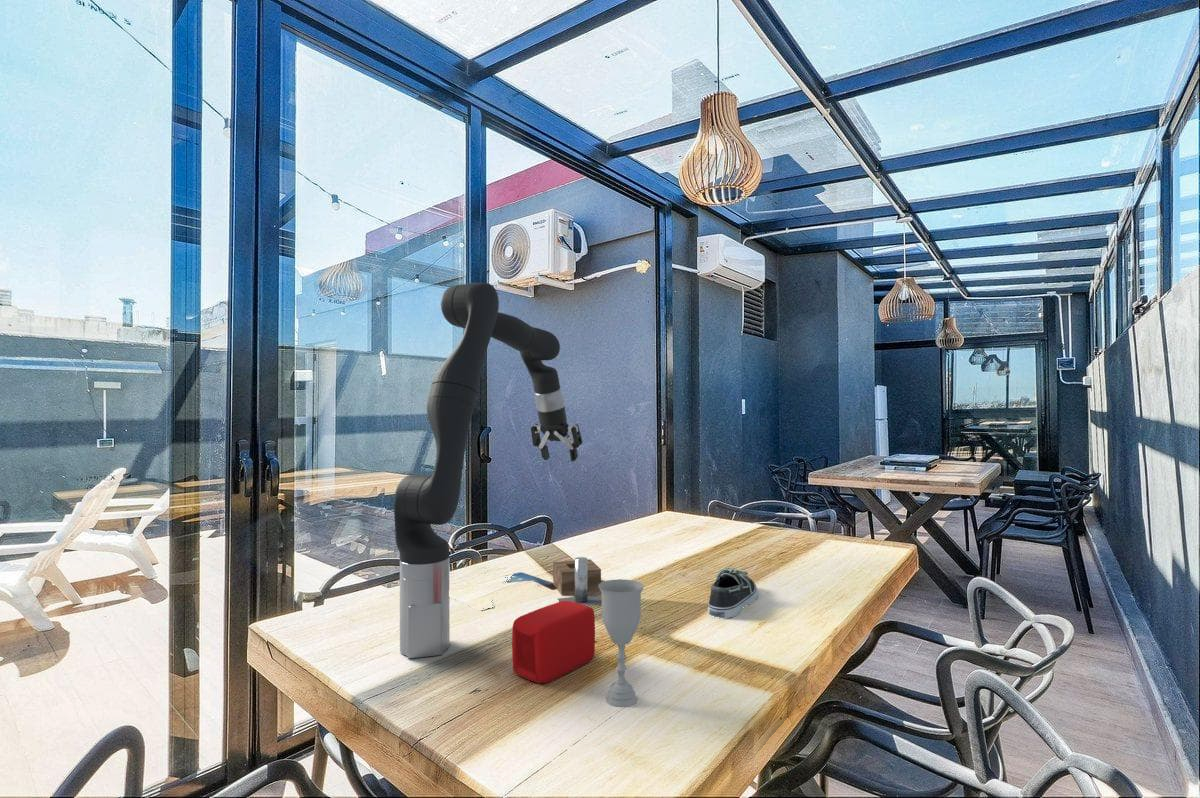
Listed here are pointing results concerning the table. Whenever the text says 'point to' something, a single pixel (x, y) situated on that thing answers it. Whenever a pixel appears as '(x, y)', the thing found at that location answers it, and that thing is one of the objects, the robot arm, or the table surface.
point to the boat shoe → (731, 593)
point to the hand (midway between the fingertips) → (560, 459)
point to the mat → (591, 601)
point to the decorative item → (553, 641)
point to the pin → (581, 580)
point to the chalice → (621, 630)
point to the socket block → (566, 577)
